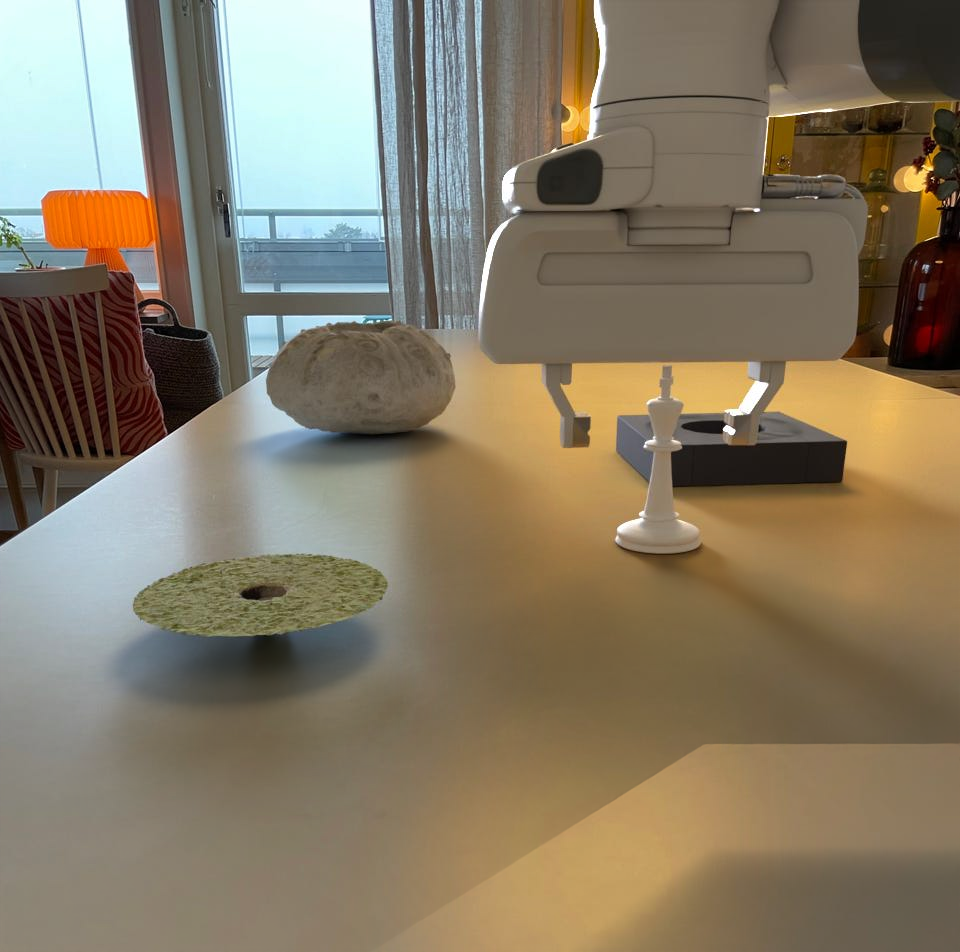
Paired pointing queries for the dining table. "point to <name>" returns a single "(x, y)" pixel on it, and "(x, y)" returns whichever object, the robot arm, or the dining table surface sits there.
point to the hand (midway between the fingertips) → (657, 445)
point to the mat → (260, 595)
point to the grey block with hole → (737, 451)
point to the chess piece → (660, 486)
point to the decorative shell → (361, 378)
